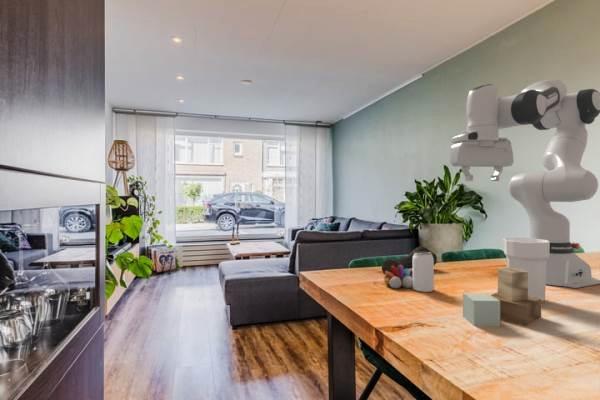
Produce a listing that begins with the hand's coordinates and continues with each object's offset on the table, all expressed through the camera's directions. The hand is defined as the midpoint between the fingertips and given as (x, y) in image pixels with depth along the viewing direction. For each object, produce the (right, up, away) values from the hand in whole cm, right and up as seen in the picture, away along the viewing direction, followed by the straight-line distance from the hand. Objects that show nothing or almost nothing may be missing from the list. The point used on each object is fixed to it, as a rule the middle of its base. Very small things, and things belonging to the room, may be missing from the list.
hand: (482, 180), depth 104 cm
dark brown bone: (-13, -35, +28) cm, 47 cm away
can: (-18, -36, +3) cm, 40 cm away
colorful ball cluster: (-24, -36, +8) cm, 44 cm away
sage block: (-13, -36, -24) cm, 45 cm away
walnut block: (-4, -36, -21) cm, 41 cm away
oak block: (-4, -31, -21) cm, 37 cm away
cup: (+9, -35, -7) cm, 37 cm away
